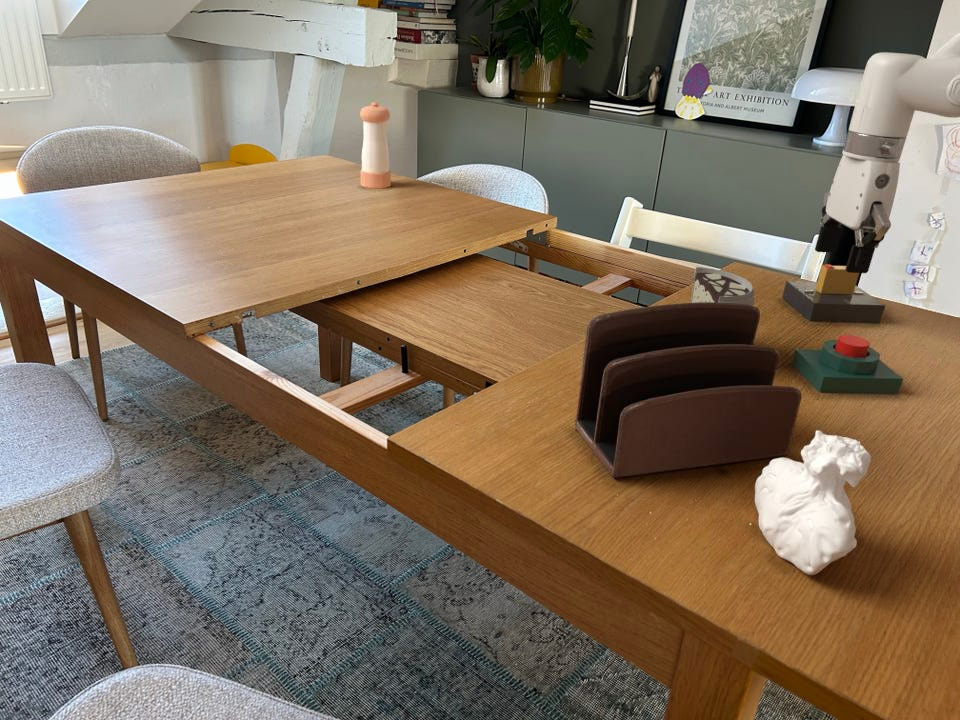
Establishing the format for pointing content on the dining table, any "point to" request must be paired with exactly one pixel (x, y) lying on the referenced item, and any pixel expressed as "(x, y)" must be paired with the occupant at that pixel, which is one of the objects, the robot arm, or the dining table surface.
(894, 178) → the robot arm
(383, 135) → the salt shaker
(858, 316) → the panel
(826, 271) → the knob
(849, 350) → the button
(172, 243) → the dining table surface
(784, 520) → the white tied bag
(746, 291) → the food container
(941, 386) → the dining table surface
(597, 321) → the letter holder
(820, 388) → the button box
